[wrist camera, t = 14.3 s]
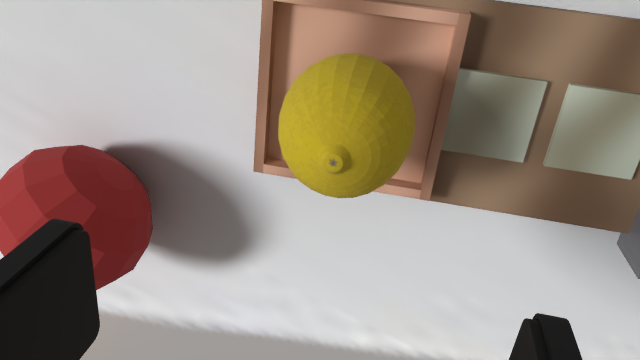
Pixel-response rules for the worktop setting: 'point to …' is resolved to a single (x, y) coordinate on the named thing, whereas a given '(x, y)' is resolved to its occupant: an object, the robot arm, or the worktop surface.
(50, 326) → the robot arm
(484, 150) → the board
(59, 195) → the tomato
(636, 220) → the housing
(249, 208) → the worktop surface
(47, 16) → the worktop surface
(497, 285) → the worktop surface
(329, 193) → the lemon
